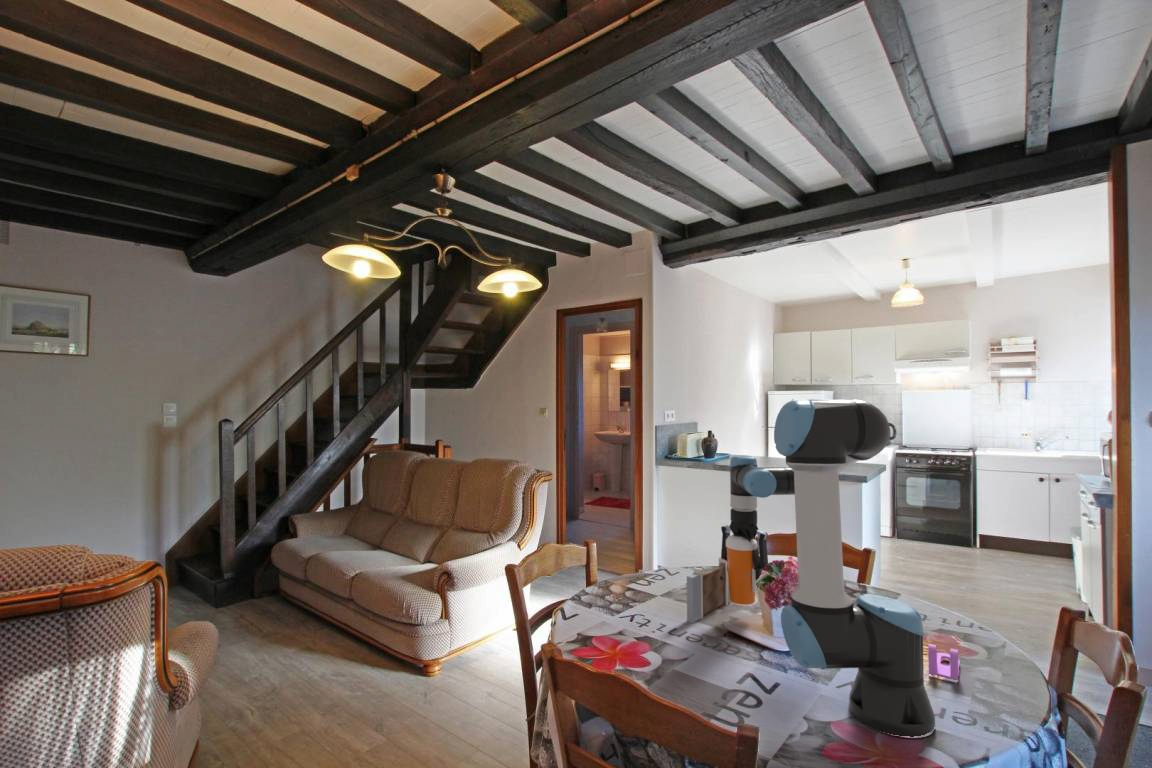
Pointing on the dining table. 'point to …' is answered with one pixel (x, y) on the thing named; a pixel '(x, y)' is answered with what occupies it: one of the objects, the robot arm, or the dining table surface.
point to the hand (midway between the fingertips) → (744, 587)
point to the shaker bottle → (740, 568)
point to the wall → (697, 592)
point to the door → (713, 589)
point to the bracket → (940, 669)
